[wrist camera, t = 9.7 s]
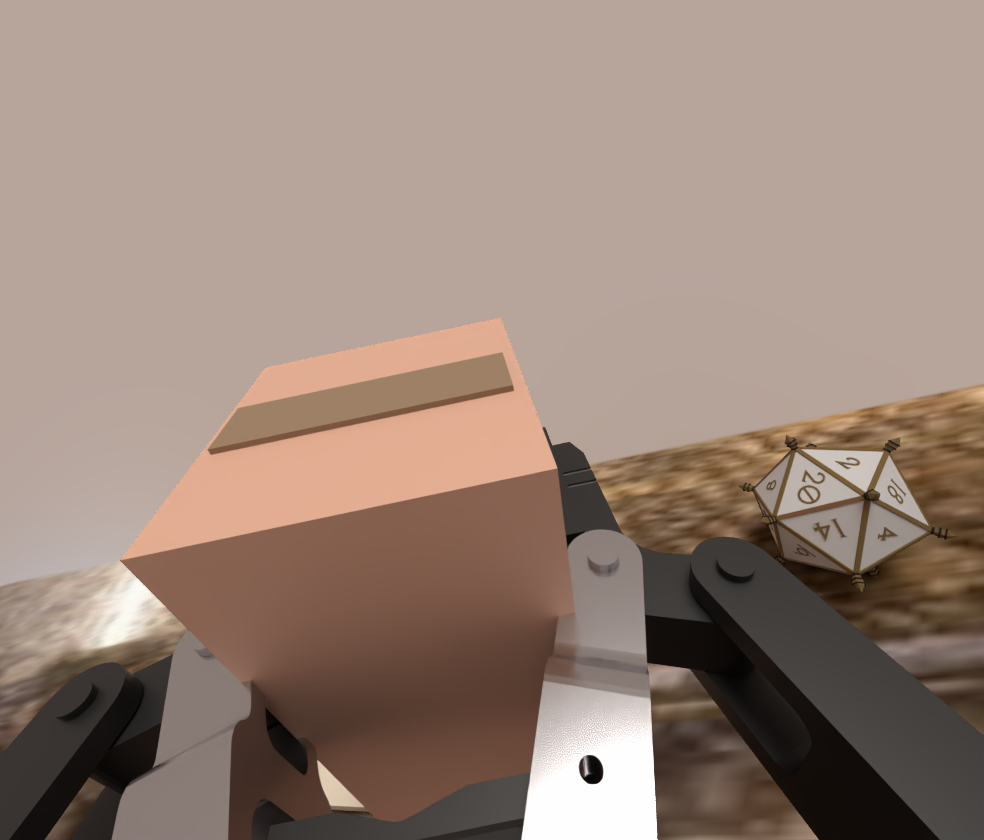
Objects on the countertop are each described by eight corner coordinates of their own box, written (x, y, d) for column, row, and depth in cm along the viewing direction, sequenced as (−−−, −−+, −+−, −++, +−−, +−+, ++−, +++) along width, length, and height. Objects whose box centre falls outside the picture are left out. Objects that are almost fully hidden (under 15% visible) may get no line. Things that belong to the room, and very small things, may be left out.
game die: (825, 616, 28) (922, 639, 18) (703, 525, 31) (734, 508, 22) (908, 506, 28) (1043, 477, 19) (779, 430, 32) (840, 374, 23)
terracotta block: (550, 602, 14) (499, 312, 9) (597, 790, 10) (556, 460, 5) (403, 633, 15) (263, 362, 9) (390, 833, 10) (113, 554, 5)
